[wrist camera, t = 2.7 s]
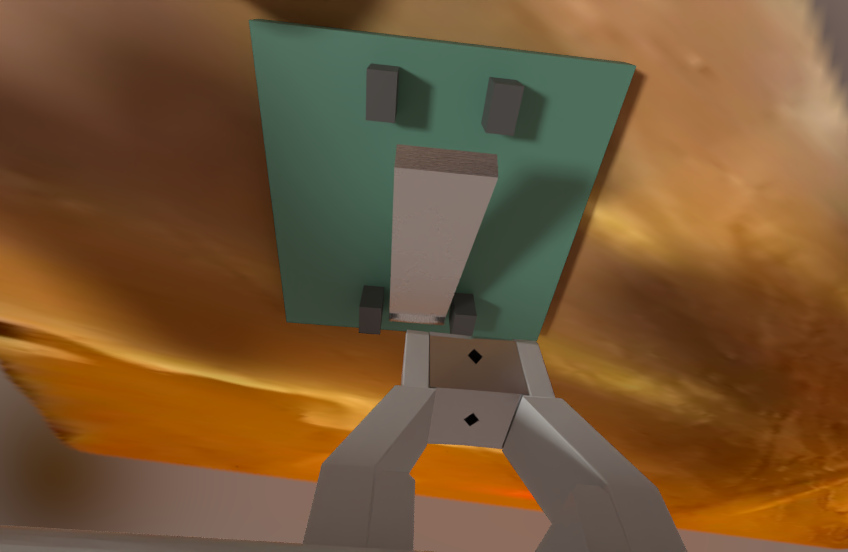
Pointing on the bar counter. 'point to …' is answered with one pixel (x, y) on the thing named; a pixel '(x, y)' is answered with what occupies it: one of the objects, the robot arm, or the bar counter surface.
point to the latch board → (436, 128)
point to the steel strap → (434, 226)
